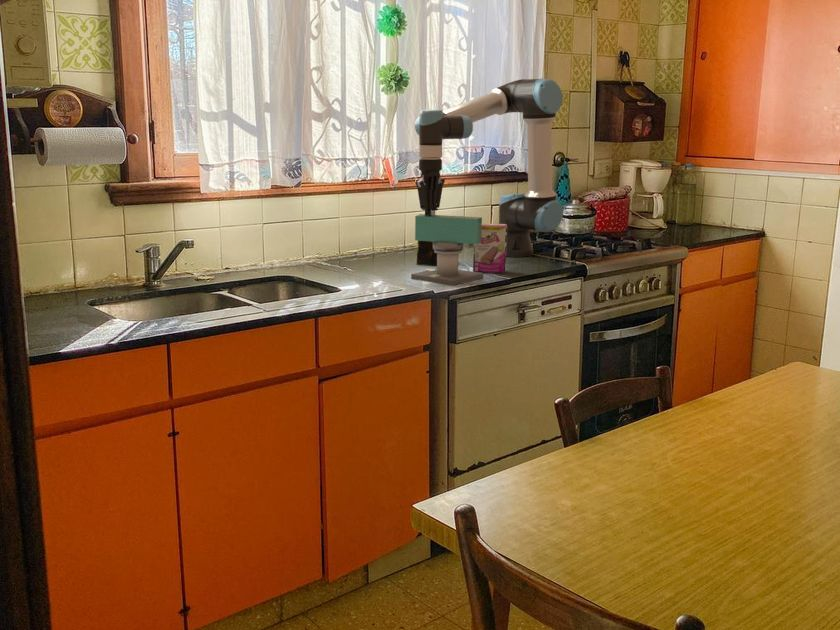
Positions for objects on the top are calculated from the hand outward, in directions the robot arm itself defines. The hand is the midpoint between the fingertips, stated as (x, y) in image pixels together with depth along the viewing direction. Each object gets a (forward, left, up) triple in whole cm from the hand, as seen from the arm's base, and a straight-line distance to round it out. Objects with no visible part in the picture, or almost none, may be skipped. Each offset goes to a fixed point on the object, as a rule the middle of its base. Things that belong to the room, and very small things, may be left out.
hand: (429, 229), depth 281 cm
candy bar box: (-17, +13, -15) cm, 26 cm away
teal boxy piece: (+1, +9, -5) cm, 10 cm away
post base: (+1, +9, -15) cm, 17 cm away
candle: (-17, -11, -15) cm, 25 cm away
